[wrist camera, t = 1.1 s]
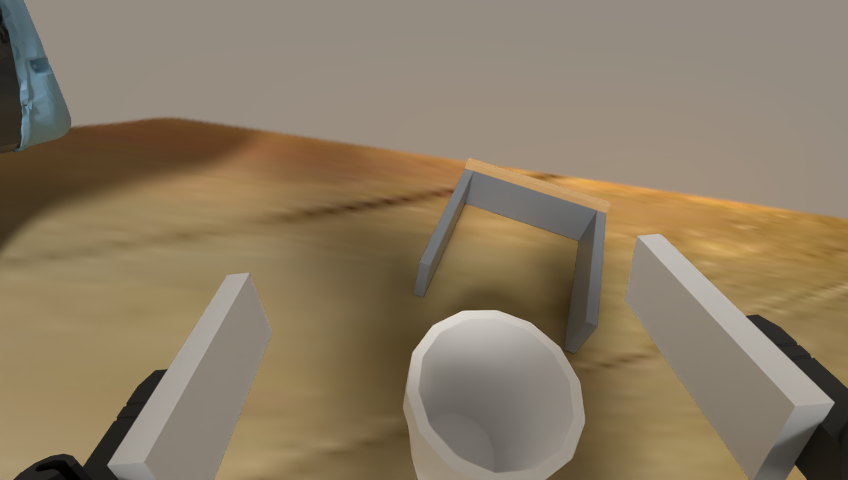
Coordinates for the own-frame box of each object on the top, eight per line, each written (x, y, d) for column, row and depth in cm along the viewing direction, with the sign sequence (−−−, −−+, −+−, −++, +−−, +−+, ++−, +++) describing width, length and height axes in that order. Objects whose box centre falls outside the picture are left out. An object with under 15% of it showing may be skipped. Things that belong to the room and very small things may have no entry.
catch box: (413, 293, 41) (420, 256, 37) (459, 195, 51) (468, 157, 47) (574, 353, 39) (601, 321, 34) (587, 238, 49) (610, 202, 45)
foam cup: (539, 461, 32) (617, 394, 22) (458, 567, 27) (514, 540, 17) (449, 372, 36) (484, 283, 26) (365, 450, 31) (369, 376, 21)
